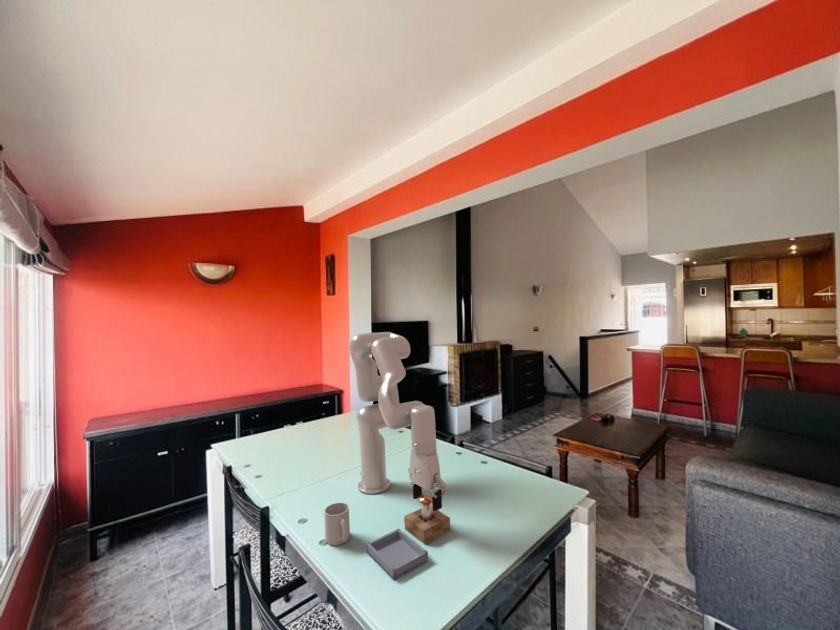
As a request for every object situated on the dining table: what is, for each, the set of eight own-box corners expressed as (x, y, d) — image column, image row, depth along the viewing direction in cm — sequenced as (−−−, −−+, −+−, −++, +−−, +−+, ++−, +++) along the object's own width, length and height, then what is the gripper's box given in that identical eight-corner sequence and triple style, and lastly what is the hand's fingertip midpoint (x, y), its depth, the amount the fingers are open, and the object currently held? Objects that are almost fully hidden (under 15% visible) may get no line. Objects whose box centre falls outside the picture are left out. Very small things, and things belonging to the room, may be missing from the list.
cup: (344, 528, 112) (342, 500, 112) (358, 544, 104) (357, 513, 104) (321, 537, 108) (320, 508, 108) (334, 554, 100) (333, 522, 100)
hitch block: (404, 529, 110) (404, 516, 110) (429, 517, 116) (429, 504, 117) (424, 544, 102) (423, 530, 103) (450, 530, 109) (449, 517, 109)
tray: (366, 552, 100) (366, 543, 100) (398, 536, 107) (398, 528, 107) (393, 580, 89) (393, 570, 89) (428, 560, 96) (427, 551, 96)
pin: (417, 529, 110) (416, 497, 110) (428, 524, 113) (427, 492, 113) (426, 536, 106) (424, 502, 106) (437, 530, 109) (436, 497, 109)
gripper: (398, 443, 114) (401, 497, 114) (432, 457, 100) (435, 519, 100) (417, 437, 119) (420, 489, 118) (452, 450, 105) (455, 509, 104)
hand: (427, 503), depth 109 cm, fingers open, 9 cm apart
